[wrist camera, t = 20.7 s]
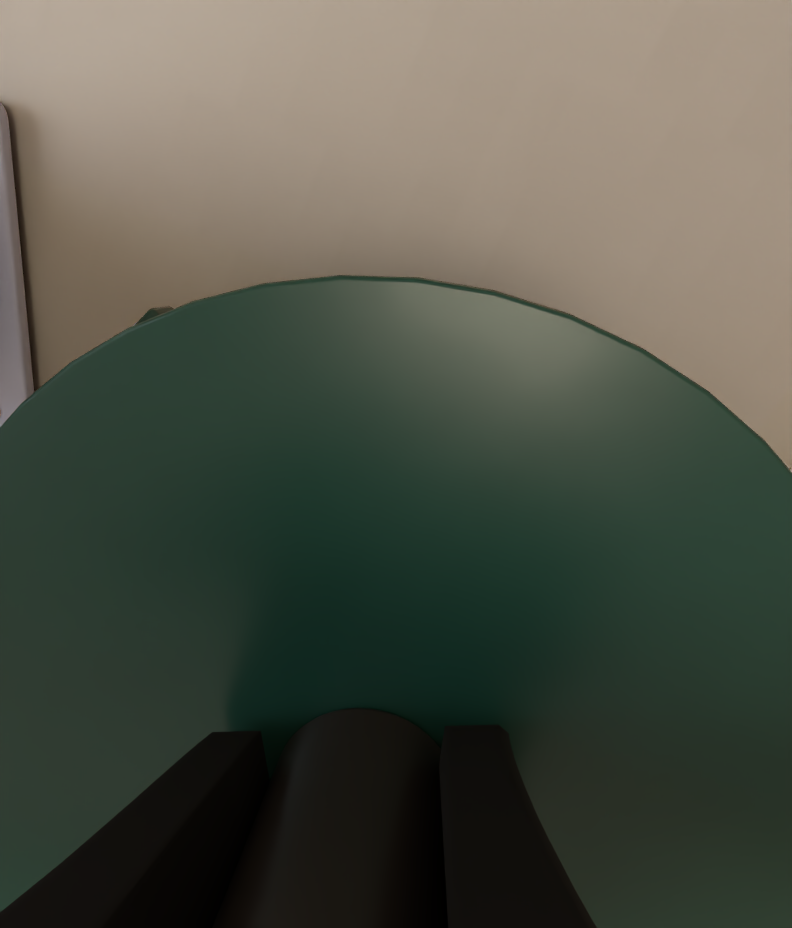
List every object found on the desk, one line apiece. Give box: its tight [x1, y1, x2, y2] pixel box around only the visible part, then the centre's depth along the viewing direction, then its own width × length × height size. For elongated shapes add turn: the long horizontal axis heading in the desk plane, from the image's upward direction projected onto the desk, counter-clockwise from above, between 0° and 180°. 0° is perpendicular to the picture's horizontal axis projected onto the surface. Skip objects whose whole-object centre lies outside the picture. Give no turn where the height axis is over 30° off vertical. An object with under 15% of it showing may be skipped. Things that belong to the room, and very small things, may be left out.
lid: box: [0, 275, 792, 928], centre depth 7 cm, size 12×12×5 cm
